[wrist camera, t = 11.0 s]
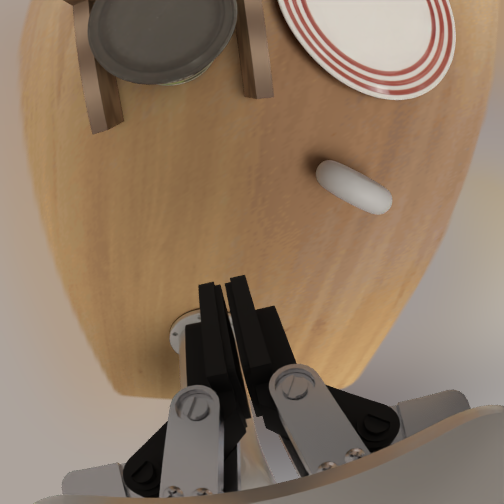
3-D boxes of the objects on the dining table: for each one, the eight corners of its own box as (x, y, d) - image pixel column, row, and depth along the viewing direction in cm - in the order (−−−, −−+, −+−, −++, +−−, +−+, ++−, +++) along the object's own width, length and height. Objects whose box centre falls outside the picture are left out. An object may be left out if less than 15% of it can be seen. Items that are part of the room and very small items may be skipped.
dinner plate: (305, -100, 15) (314, -110, 12) (455, -3, 24) (469, -4, 21) (234, 44, 27) (238, 40, 24) (413, 129, 36) (428, 134, 33)
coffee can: (207, 92, 30) (215, 95, 18) (119, 80, 27) (72, 79, 15) (231, 12, 25) (255, -30, 13) (142, -1, 22) (113, -46, 10)
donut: (369, 175, 39) (412, 204, 30) (359, 197, 40) (398, 229, 32) (310, 147, 35) (347, 170, 27) (299, 172, 37) (332, 201, 28)
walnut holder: (258, 94, 31) (285, 99, 22) (111, 124, 29) (78, 142, 20) (242, -23, 22) (263, -61, 13) (93, 7, 21) (57, -17, 12)
